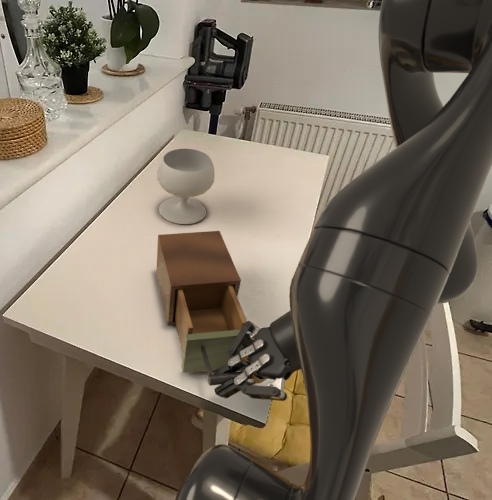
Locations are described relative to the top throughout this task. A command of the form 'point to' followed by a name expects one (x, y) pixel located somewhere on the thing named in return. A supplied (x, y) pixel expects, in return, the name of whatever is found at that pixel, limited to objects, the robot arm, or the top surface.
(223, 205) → the top surface
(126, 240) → the top surface
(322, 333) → the robot arm
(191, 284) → the cabinet
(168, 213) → the chalice
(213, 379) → the drawer
